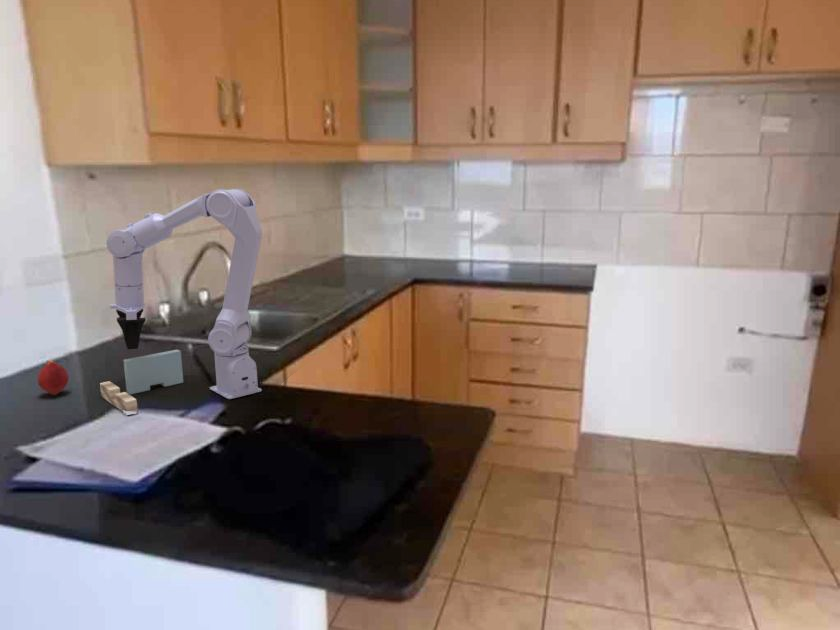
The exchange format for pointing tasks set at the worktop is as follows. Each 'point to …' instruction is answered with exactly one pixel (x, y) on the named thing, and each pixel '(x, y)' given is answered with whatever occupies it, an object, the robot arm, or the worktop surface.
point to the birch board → (118, 397)
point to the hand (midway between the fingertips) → (131, 344)
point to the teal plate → (153, 371)
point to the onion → (53, 378)
